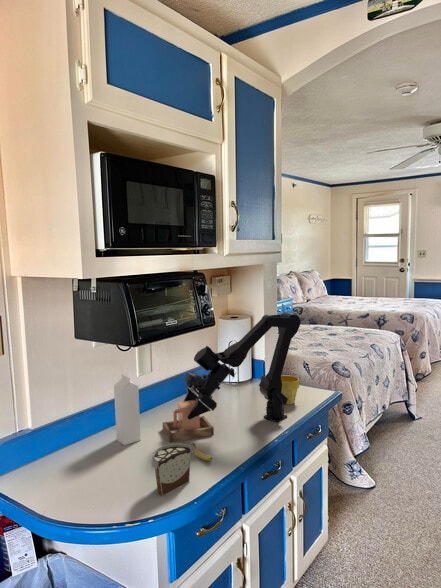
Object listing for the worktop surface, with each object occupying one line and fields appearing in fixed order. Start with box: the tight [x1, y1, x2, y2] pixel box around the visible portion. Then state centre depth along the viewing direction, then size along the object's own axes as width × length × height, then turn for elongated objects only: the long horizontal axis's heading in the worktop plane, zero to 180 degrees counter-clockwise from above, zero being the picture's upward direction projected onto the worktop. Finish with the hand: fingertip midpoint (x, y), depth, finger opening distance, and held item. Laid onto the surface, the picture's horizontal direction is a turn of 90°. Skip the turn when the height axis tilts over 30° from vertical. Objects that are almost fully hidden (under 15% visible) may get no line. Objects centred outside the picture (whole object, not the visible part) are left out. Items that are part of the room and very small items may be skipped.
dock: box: [162, 415, 215, 443], centre depth 151 cm, size 15×11×2 cm
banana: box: [192, 442, 213, 462], centre depth 131 cm, size 8×2×4 cm, turn 47°
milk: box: [113, 373, 142, 446], centre depth 144 cm, size 6×6×22 cm
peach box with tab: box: [172, 400, 201, 432], centre depth 150 cm, size 8×6×10 cm
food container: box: [151, 443, 193, 498], centre depth 117 cm, size 12×6×10 cm, turn 136°
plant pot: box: [281, 374, 300, 406], centre depth 178 cm, size 10×10×10 cm
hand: (184, 413), depth 150 cm, fingers open, 9 cm apart
